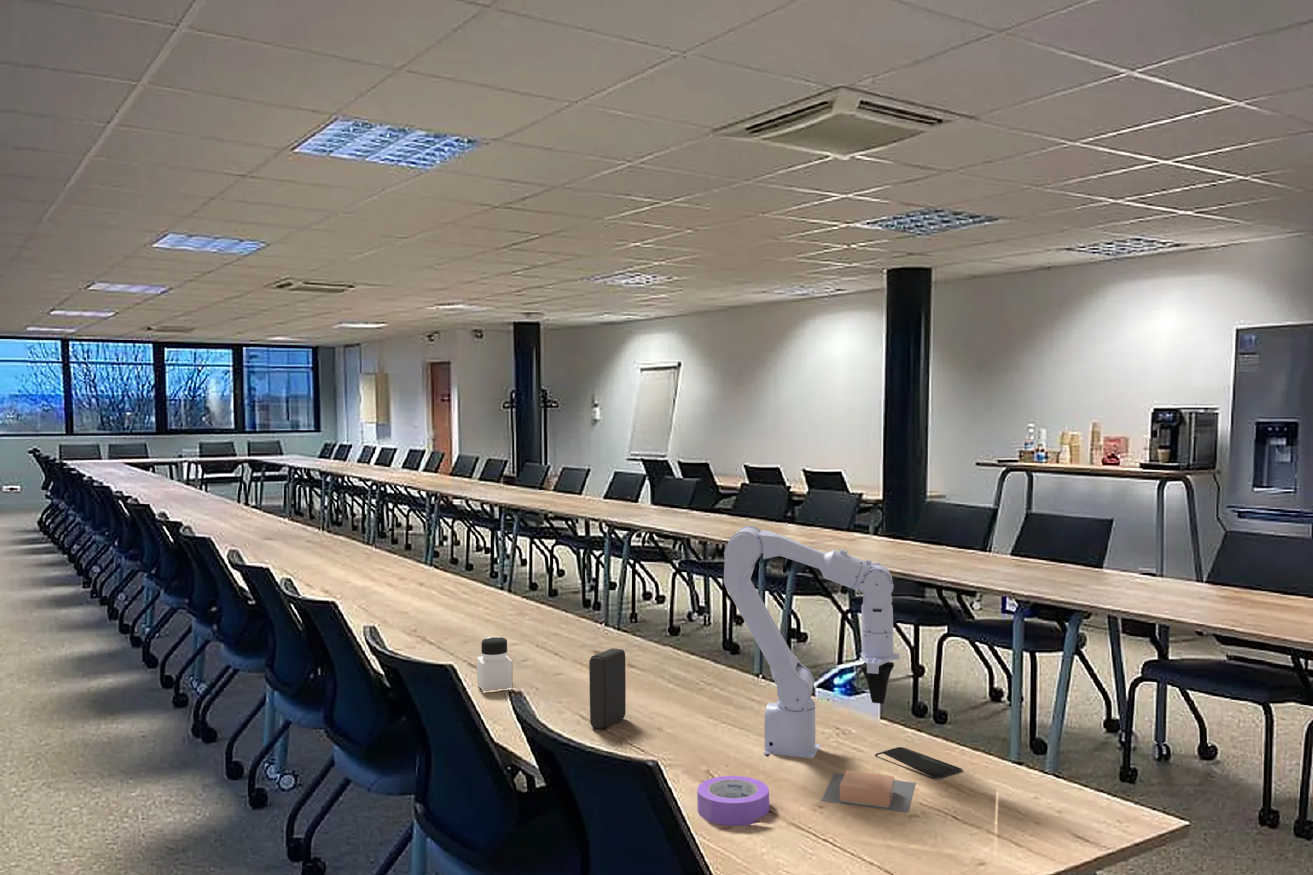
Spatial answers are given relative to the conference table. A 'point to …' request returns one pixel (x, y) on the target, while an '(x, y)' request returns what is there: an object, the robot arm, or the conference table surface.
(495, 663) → the medicine bottle
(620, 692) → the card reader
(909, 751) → the phone
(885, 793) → the light brown rectangular block
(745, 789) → the masking tape
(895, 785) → the mat
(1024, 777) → the conference table surface
